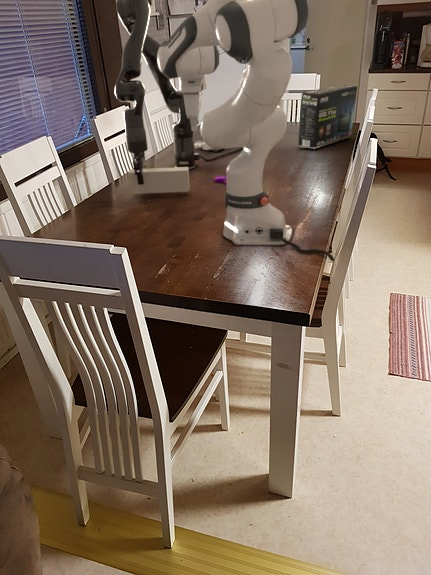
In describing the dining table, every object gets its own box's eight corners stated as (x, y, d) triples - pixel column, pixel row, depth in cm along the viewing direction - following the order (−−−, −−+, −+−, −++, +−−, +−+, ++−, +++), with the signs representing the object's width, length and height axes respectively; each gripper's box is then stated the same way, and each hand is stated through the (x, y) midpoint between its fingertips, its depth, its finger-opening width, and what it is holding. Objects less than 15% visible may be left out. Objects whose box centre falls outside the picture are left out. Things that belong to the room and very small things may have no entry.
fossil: (218, 146, 231) (198, 127, 234) (207, 163, 238) (188, 145, 241) (236, 144, 245) (217, 126, 248) (226, 160, 252) (207, 143, 255)
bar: (189, 187, 185) (188, 166, 180) (189, 191, 181) (187, 170, 176) (133, 189, 185) (130, 169, 181) (131, 193, 182) (128, 172, 177)
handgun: (214, 180, 197) (213, 176, 196) (231, 178, 198) (231, 174, 197) (224, 196, 180) (223, 191, 179) (243, 193, 181) (242, 189, 180)
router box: (314, 151, 231) (318, 94, 217) (296, 148, 237) (299, 92, 224) (352, 138, 251) (358, 85, 238) (335, 135, 258) (340, 83, 245)
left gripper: (129, 134, 179) (135, 176, 188) (122, 143, 167) (129, 188, 176) (148, 133, 178) (153, 176, 187) (143, 142, 166) (149, 188, 175)
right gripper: (185, 79, 158) (188, 121, 165) (180, 88, 141) (183, 134, 148) (203, 79, 158) (205, 120, 165) (200, 87, 140) (203, 133, 148)
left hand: (142, 181), depth 181 cm, fingers closed on bar, 4 cm apart
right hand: (195, 127), depth 156 cm, fingers open, 8 cm apart
